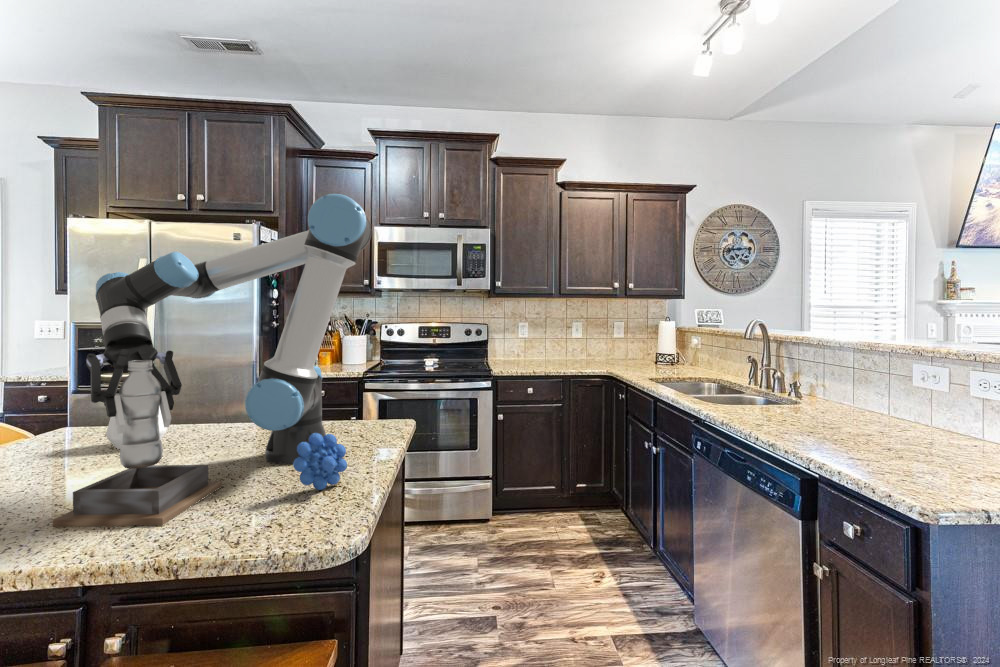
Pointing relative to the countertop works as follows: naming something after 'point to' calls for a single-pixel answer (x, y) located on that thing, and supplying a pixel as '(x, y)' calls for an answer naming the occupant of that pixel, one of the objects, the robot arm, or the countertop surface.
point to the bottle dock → (139, 496)
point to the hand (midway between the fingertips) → (145, 425)
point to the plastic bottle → (140, 416)
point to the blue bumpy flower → (320, 461)
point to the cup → (117, 438)
